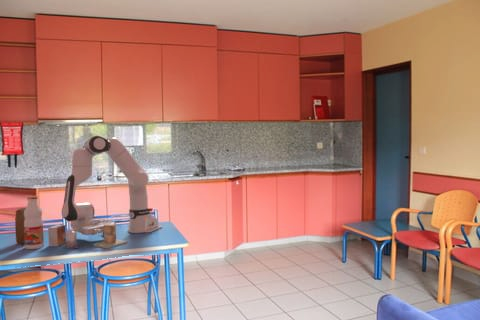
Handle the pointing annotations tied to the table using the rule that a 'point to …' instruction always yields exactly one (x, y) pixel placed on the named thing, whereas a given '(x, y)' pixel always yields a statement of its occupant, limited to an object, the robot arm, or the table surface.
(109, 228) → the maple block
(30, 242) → the fruit juice
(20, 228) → the block
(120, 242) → the beige flat square plate
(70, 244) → the metal can
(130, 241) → the table surface
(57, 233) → the small box
